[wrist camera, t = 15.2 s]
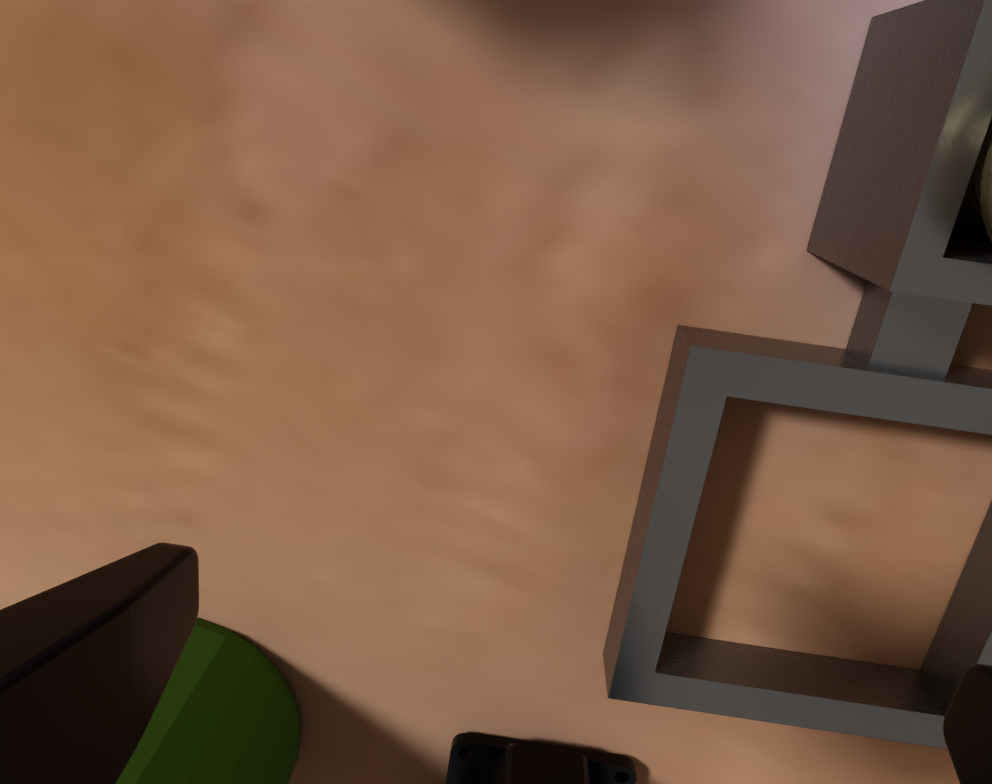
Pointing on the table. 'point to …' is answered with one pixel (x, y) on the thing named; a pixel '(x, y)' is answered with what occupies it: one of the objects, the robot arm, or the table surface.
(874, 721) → the socket block
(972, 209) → the pin
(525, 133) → the table surface
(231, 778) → the wine bottle
